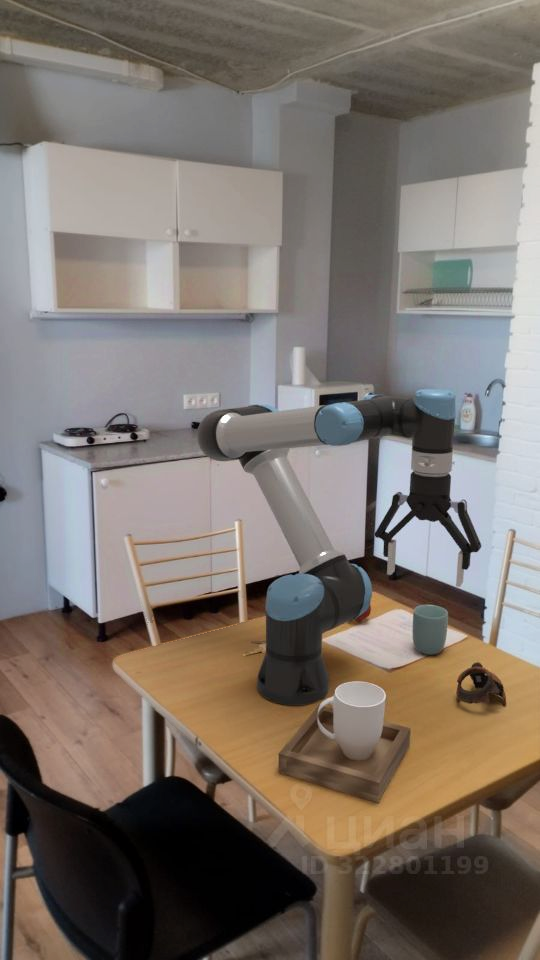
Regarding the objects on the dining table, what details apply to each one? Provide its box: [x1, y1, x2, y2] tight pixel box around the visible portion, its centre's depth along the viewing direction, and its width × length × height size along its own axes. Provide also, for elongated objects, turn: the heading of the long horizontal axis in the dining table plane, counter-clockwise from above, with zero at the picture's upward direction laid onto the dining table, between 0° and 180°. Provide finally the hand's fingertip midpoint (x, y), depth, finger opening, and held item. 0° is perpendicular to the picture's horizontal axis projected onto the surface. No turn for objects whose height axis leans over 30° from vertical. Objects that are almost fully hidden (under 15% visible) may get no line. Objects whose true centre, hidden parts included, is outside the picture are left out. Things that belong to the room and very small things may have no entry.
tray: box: [277, 704, 411, 804], centre depth 135 cm, size 18×18×4 cm
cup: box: [411, 604, 449, 656], centre depth 176 cm, size 8×8×10 cm
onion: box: [353, 604, 372, 623], centre depth 192 cm, size 6×6×8 cm
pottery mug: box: [455, 661, 507, 706], centre depth 155 cm, size 12×10×8 cm
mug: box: [317, 680, 387, 761], centre depth 133 cm, size 12×9×12 cm
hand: (424, 578), depth 148 cm, fingers open, 13 cm apart
